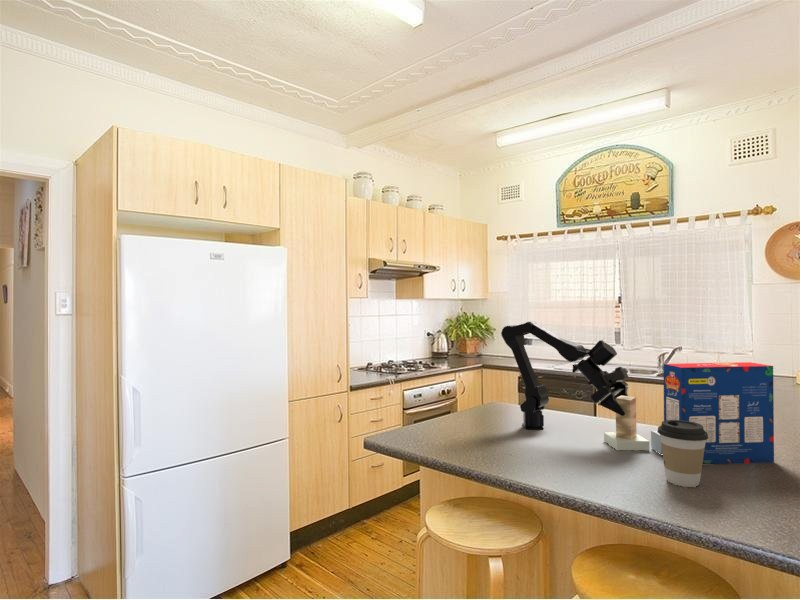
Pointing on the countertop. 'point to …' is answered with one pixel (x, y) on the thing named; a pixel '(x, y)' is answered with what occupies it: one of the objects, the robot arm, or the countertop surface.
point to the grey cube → (656, 441)
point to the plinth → (626, 442)
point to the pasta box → (725, 408)
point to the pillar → (626, 418)
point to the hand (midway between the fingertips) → (629, 412)
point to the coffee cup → (682, 451)
